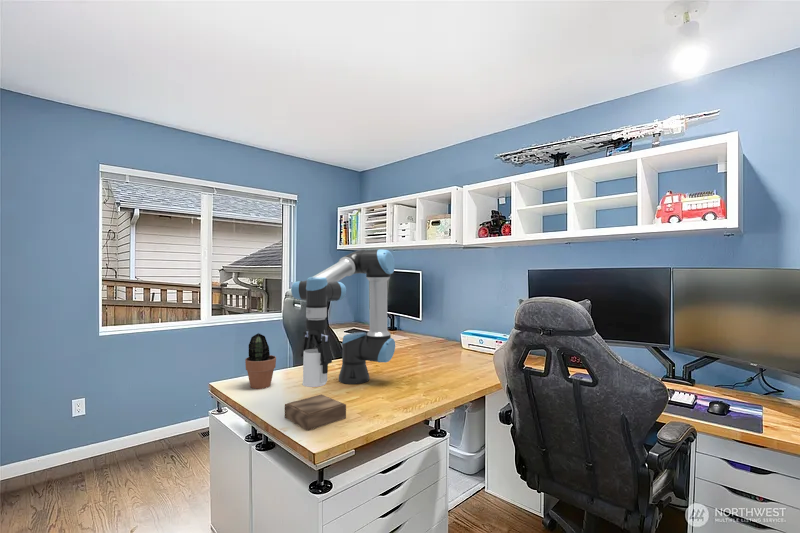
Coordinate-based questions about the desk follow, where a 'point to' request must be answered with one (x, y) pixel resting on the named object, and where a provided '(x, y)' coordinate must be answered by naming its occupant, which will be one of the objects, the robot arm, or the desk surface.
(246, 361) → the potted plant
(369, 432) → the desk surface
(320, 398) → the tray
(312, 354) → the mug
